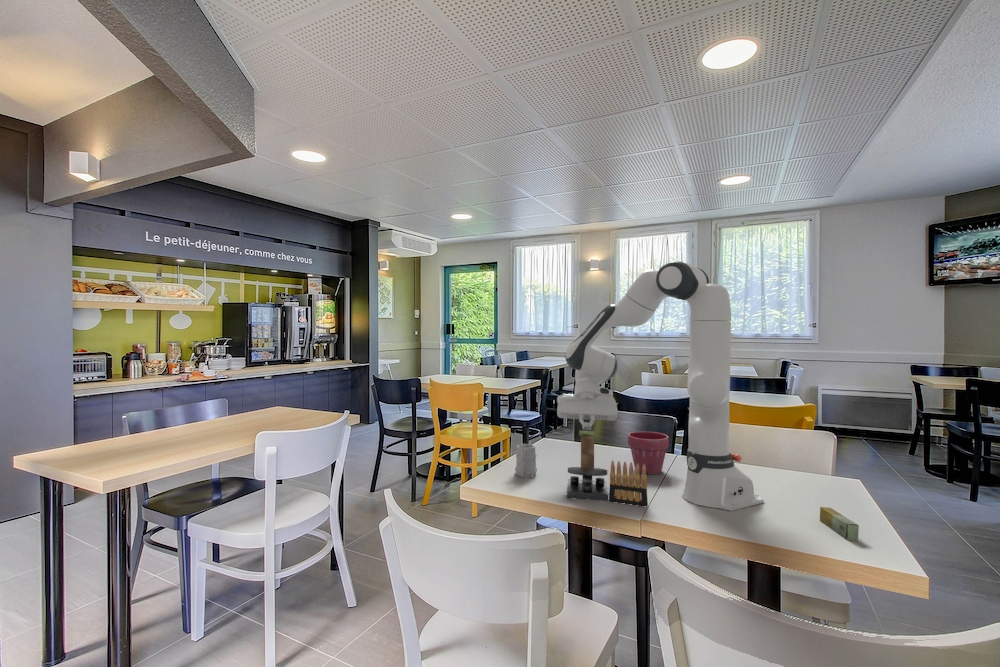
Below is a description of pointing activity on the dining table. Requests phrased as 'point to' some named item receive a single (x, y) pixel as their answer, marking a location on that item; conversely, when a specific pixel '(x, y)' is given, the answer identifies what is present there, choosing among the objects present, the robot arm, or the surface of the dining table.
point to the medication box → (839, 523)
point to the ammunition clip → (628, 485)
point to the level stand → (587, 488)
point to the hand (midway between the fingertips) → (586, 428)
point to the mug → (526, 460)
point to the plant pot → (648, 450)
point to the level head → (587, 457)
